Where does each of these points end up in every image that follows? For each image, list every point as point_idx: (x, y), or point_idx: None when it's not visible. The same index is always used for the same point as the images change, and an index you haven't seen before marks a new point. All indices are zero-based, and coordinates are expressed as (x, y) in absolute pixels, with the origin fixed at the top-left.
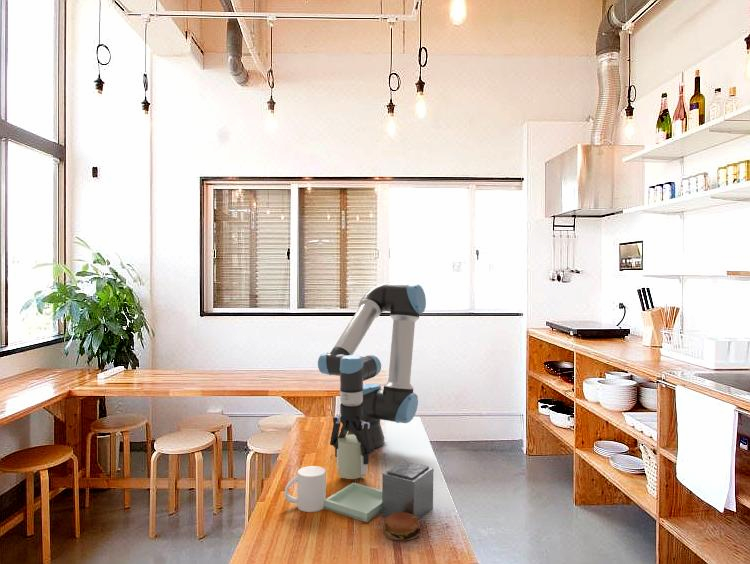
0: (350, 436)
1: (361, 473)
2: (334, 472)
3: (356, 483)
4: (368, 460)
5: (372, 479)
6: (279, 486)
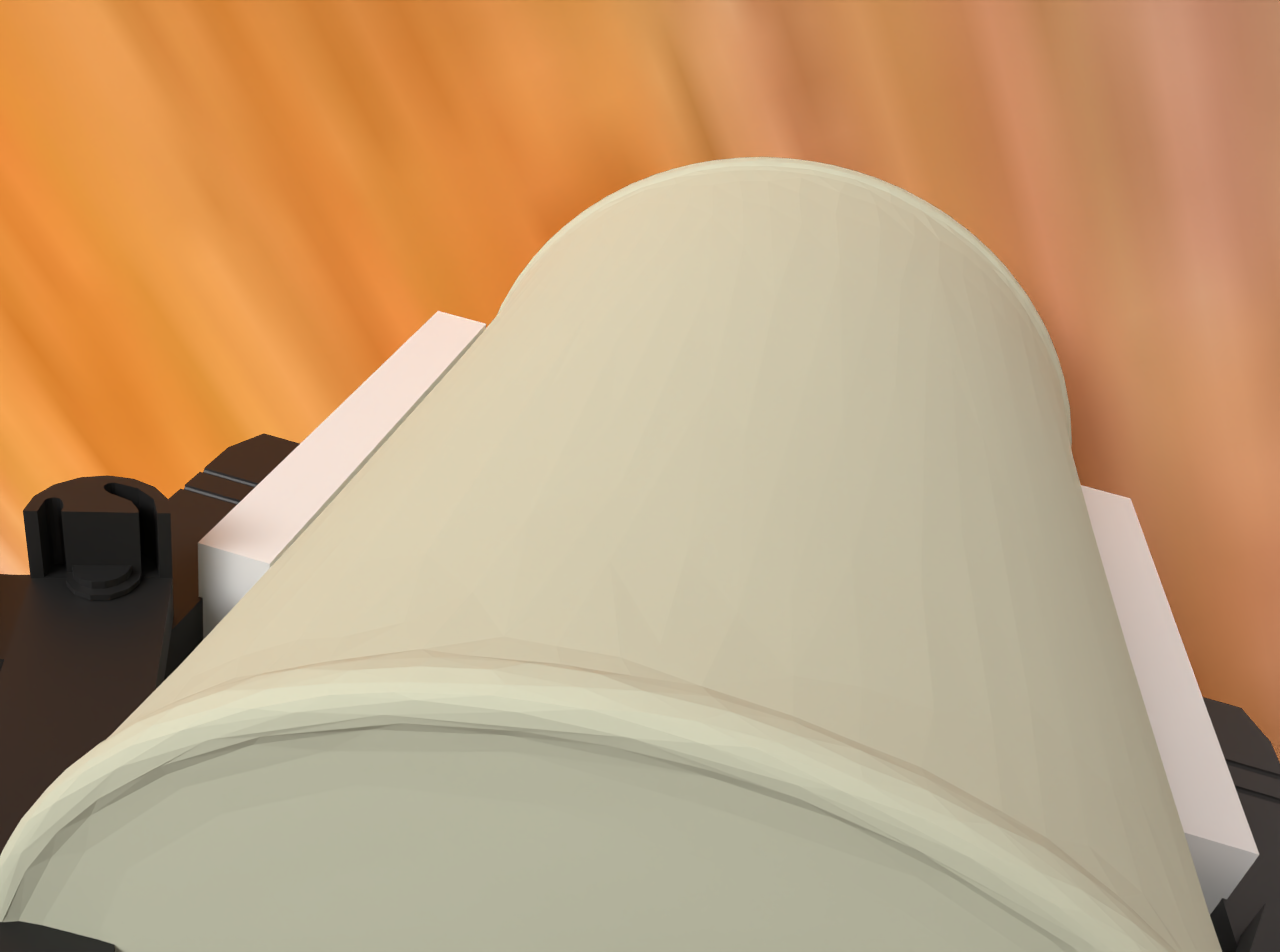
0: (344, 948)
1: None
2: (343, 226)
3: None
4: (1274, 791)
5: (1205, 312)
6: None
